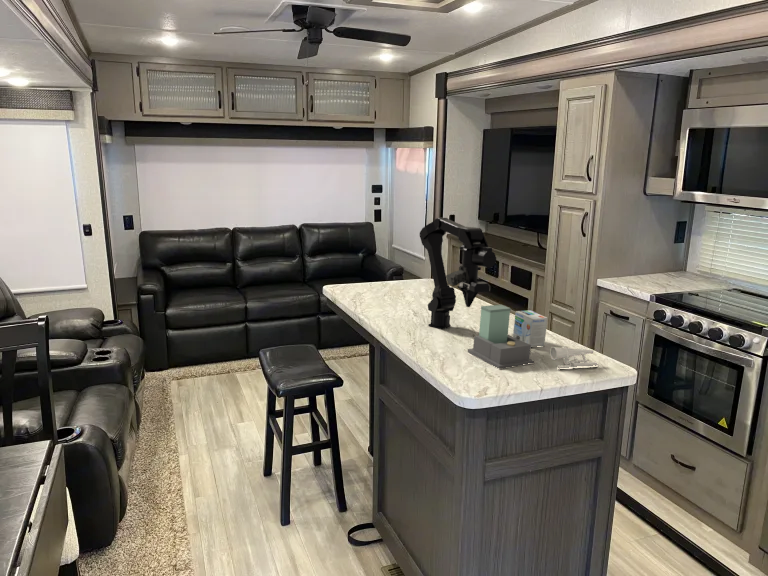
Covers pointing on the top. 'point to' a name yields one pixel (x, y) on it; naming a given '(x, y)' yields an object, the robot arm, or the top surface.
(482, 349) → the switch housing
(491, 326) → the pale green tall block
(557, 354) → the toy cannon
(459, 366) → the top surface
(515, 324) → the light bulb box
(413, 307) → the top surface
